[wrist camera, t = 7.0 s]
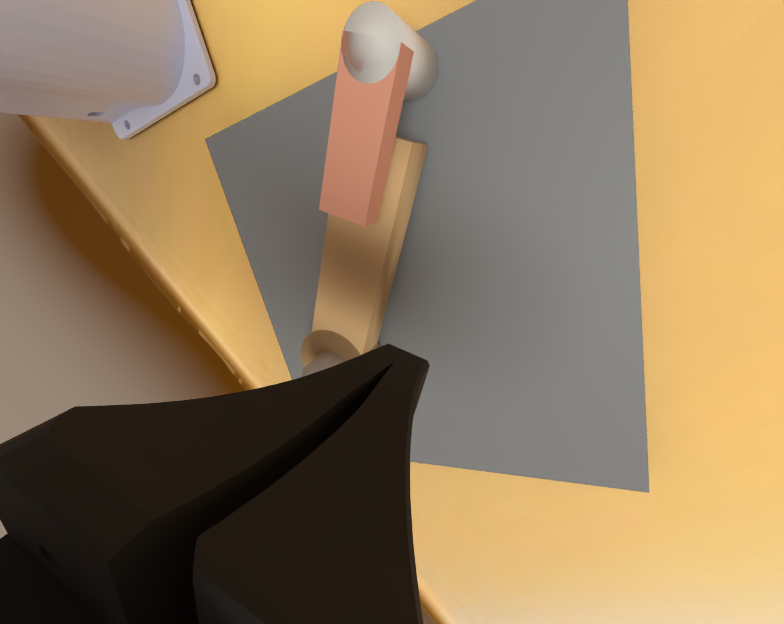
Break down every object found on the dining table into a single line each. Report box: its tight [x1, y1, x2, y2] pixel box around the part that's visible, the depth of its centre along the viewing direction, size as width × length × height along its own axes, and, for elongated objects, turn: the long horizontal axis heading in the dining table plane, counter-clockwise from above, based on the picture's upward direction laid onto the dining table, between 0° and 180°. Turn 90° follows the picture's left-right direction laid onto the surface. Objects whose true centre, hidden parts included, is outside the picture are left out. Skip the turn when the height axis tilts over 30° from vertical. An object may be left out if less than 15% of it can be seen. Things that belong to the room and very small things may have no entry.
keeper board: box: [205, 0, 649, 493], centre depth 16 cm, size 19×20×5 cm
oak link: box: [301, 136, 428, 377], centre depth 16 cm, size 13×4×3 cm, turn 166°
